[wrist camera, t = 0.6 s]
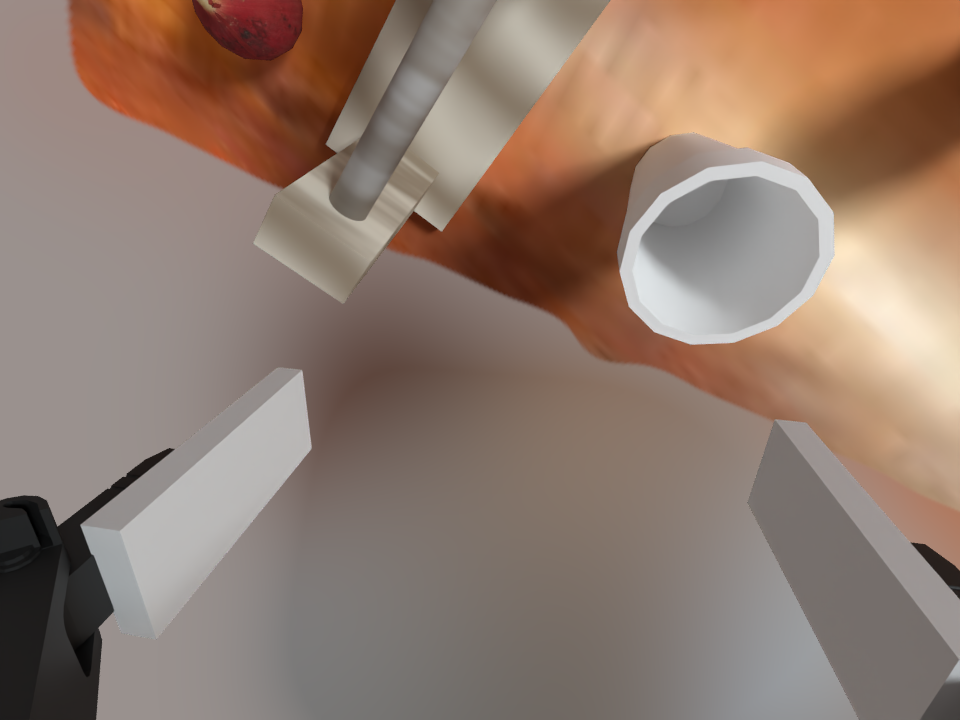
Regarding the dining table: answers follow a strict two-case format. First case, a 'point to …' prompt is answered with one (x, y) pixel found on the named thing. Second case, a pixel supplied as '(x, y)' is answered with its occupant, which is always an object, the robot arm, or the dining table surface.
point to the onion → (252, 25)
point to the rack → (420, 128)
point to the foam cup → (720, 240)
